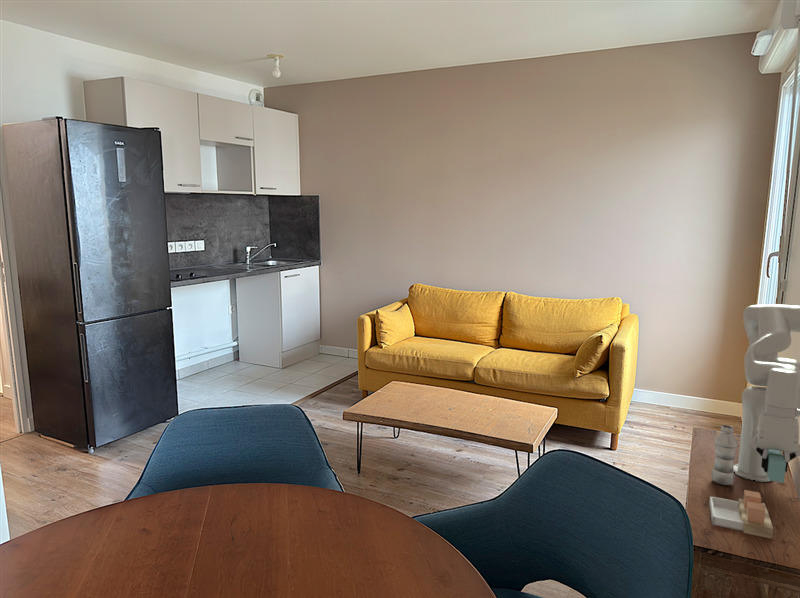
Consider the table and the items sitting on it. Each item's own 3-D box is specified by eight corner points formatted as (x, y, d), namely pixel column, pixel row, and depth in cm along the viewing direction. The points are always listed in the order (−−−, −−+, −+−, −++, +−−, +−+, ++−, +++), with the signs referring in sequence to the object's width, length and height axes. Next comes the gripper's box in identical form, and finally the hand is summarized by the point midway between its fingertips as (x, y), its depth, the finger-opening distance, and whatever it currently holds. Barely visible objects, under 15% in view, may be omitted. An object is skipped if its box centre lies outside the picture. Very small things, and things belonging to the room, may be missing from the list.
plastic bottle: (714, 477, 198) (719, 421, 196) (736, 483, 194) (741, 427, 191) (708, 482, 194) (713, 426, 191) (730, 489, 189) (735, 432, 186)
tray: (709, 503, 180) (709, 496, 179) (737, 509, 176) (738, 501, 176) (712, 524, 167) (712, 516, 167) (743, 531, 164) (743, 522, 163)
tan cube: (742, 502, 175) (744, 489, 174) (758, 505, 173) (759, 492, 172) (744, 507, 171) (745, 495, 170) (760, 511, 169) (761, 498, 169)
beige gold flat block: (737, 507, 177) (738, 498, 177) (763, 512, 174) (764, 503, 174) (743, 532, 163) (744, 522, 162) (772, 538, 160) (773, 528, 159)
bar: (763, 465, 173) (765, 446, 172) (777, 467, 171) (779, 448, 170) (769, 480, 162) (771, 460, 161) (783, 483, 160) (786, 462, 160)
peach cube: (745, 514, 167) (747, 501, 167) (761, 517, 166) (763, 504, 165) (747, 520, 164) (748, 507, 163) (763, 523, 162) (765, 510, 162)
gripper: (811, 412, 164) (805, 473, 166) (745, 403, 171) (739, 461, 173) (817, 419, 157) (810, 482, 159) (748, 410, 164) (742, 471, 167)
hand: (773, 471), depth 166 cm, fingers closed on bar, 3 cm apart
